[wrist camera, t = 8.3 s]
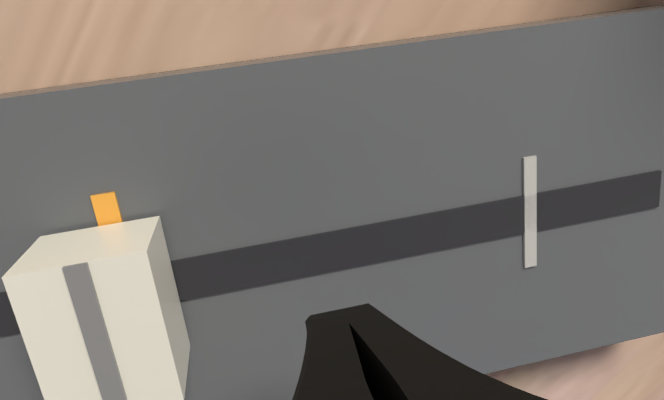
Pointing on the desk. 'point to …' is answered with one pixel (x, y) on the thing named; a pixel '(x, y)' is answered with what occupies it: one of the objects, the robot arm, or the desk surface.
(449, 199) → the console
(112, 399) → the fader cap
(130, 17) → the desk surface
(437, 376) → the robot arm
